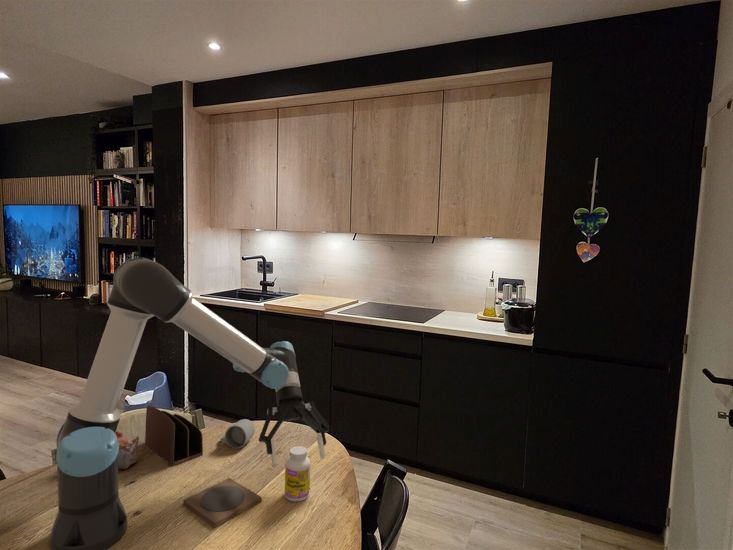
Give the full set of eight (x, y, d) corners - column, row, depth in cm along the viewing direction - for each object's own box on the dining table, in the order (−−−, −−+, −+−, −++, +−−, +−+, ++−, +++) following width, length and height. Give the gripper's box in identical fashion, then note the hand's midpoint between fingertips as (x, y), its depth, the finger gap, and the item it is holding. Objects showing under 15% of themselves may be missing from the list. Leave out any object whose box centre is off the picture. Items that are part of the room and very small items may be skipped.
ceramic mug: (256, 439, 153) (256, 417, 152) (246, 450, 145) (246, 427, 144) (227, 436, 155) (227, 414, 154) (215, 446, 147) (215, 424, 146)
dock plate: (215, 527, 107) (215, 522, 107) (183, 504, 115) (183, 499, 115) (261, 501, 118) (261, 496, 118) (229, 481, 126) (229, 477, 126)
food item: (142, 459, 137) (142, 428, 136) (129, 473, 129) (128, 440, 128) (97, 457, 136) (97, 426, 136) (81, 471, 129) (80, 438, 128)
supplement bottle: (281, 502, 118) (283, 455, 117) (287, 487, 124) (288, 443, 123) (307, 503, 118) (308, 456, 116) (311, 489, 124) (312, 445, 123)
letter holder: (171, 467, 133) (172, 421, 132) (144, 444, 146) (144, 402, 145) (203, 455, 141) (203, 412, 139) (174, 435, 154) (174, 395, 152)
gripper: (324, 391, 143) (338, 458, 130) (244, 399, 133) (251, 473, 121) (330, 380, 137) (345, 449, 125) (247, 388, 127) (255, 464, 115)
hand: (299, 461), depth 123 cm, fingers open, 13 cm apart
